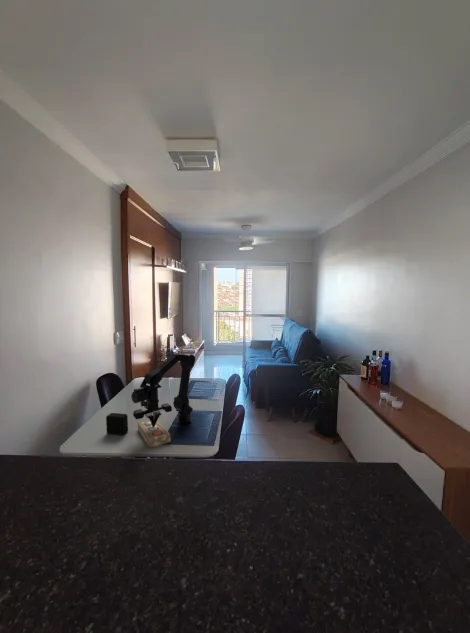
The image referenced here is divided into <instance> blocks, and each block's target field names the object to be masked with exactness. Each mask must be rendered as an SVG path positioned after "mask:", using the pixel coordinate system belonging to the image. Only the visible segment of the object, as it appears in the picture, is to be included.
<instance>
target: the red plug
mask: <svg viewBox="0 0 470 633" xmlns="http://www.w3.org/2000/svg"><path fill="white" fill-rule="evenodd" d="M159 435H162V431H161V430H159V429H158V430H154V431H153V436H154V437H155V436H159Z"/></svg>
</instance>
